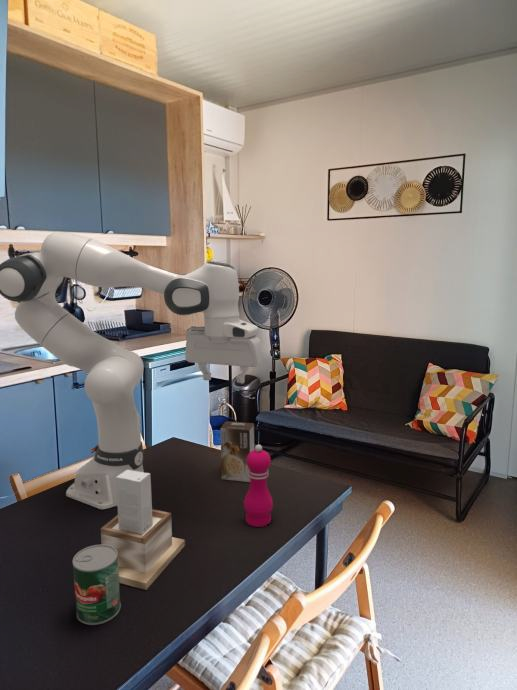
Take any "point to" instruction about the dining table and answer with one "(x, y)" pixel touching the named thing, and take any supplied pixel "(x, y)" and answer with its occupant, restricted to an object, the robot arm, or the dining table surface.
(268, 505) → the pepper mill
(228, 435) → the coffee box
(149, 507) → the skincare box
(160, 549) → the display stand
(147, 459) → the dining table surface
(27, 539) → the dining table surface
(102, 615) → the canned tomato
